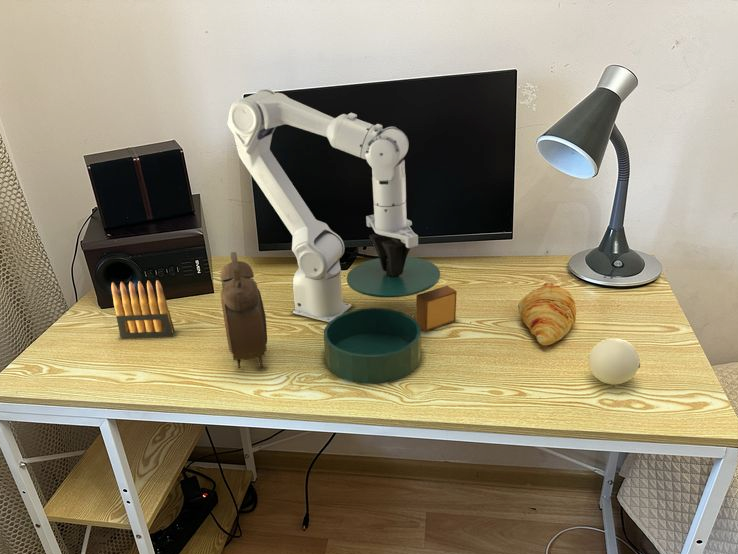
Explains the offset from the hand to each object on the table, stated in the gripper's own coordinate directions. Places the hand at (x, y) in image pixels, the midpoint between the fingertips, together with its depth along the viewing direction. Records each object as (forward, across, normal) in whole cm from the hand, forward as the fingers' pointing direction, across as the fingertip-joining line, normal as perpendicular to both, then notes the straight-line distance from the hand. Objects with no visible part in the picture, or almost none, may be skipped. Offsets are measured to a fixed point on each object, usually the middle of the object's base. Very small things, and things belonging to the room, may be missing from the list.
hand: (392, 272), depth 119 cm
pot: (+10, -9, +10) cm, 17 cm away
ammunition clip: (+9, +22, +44) cm, 50 cm away
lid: (+1, 0, 0) cm, 1 cm away
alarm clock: (+10, +3, +29) cm, 31 cm away
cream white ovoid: (+12, -35, -19) cm, 41 cm away
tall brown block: (+11, -5, -6) cm, 13 cm away
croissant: (+11, -16, -23) cm, 30 cm away
